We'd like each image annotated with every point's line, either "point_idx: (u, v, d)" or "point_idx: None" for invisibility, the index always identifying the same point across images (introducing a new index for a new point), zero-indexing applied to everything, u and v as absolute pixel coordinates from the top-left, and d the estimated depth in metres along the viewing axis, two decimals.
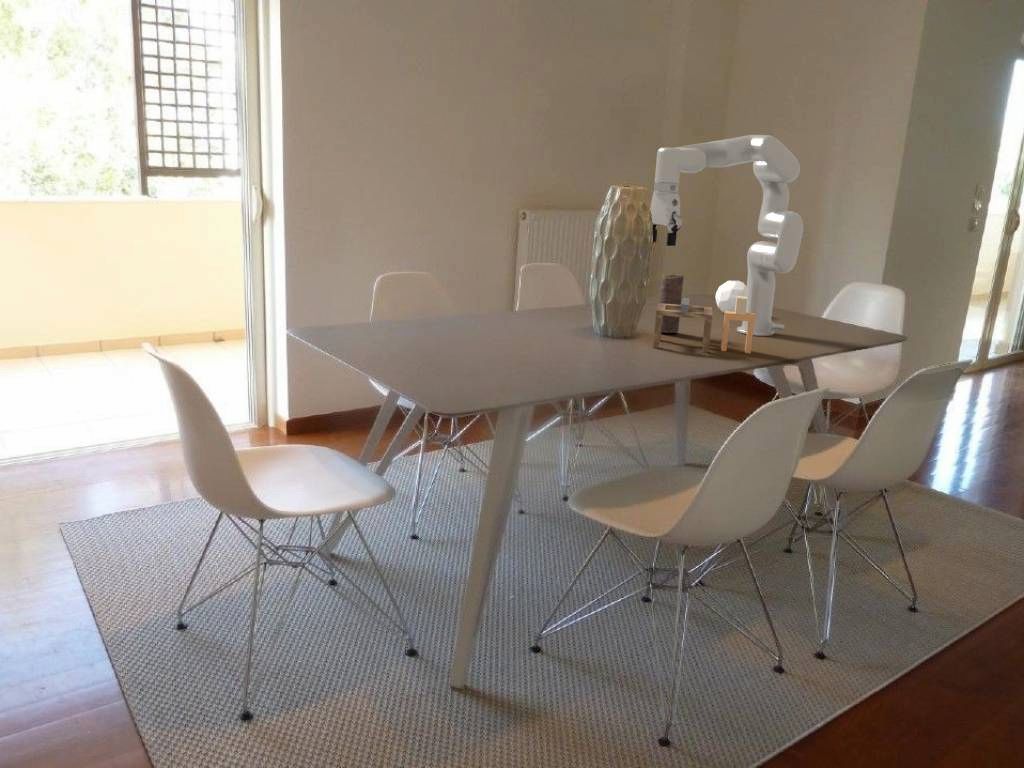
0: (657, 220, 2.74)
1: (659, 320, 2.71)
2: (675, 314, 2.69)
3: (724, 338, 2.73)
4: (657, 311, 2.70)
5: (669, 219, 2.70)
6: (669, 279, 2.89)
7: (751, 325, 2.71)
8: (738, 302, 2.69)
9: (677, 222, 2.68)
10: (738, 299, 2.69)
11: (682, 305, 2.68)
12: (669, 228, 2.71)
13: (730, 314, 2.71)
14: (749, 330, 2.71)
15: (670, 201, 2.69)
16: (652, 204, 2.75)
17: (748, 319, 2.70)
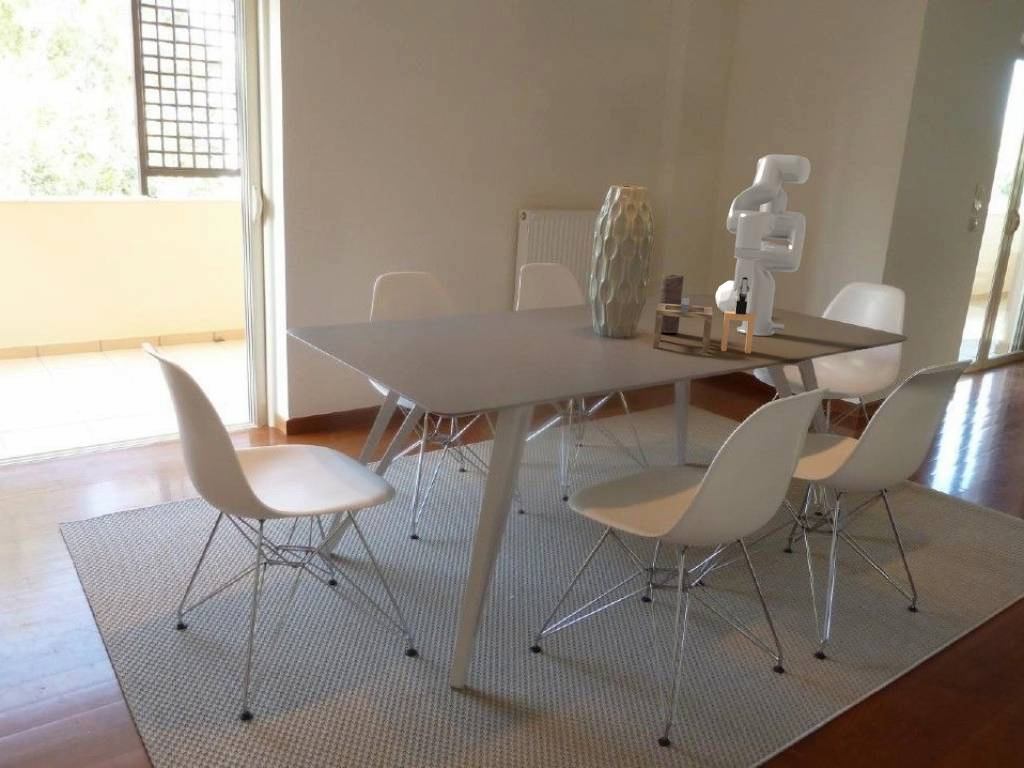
0: None
1: (659, 320, 2.71)
2: (675, 314, 2.69)
3: (724, 338, 2.73)
4: (657, 311, 2.70)
5: None
6: (669, 279, 2.89)
7: (751, 325, 2.71)
8: None
9: None
10: None
11: (682, 305, 2.68)
12: None
13: (730, 314, 2.71)
14: (749, 330, 2.71)
15: None
16: (753, 272, 2.65)
17: (748, 319, 2.70)
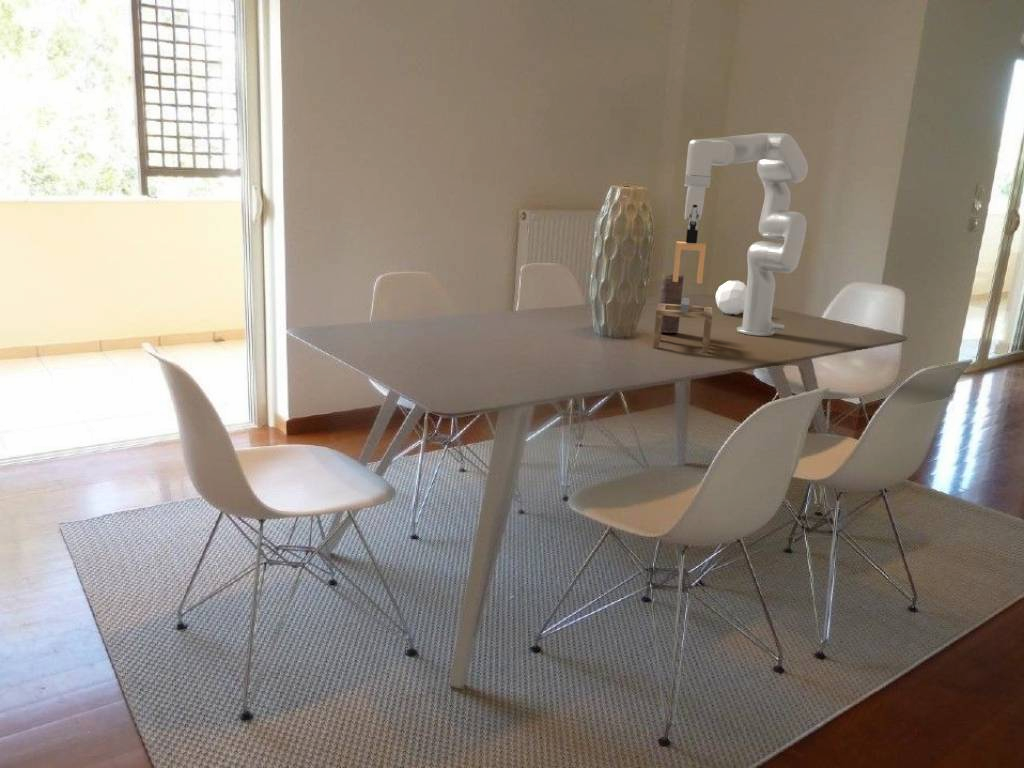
0: None
1: (659, 320, 2.71)
2: (675, 314, 2.69)
3: (675, 268, 2.71)
4: (657, 311, 2.70)
5: None
6: (669, 279, 2.89)
7: (702, 254, 2.68)
8: None
9: None
10: None
11: (682, 305, 2.68)
12: None
13: (681, 243, 2.69)
14: (700, 260, 2.69)
15: None
16: (703, 200, 2.63)
17: (699, 248, 2.68)
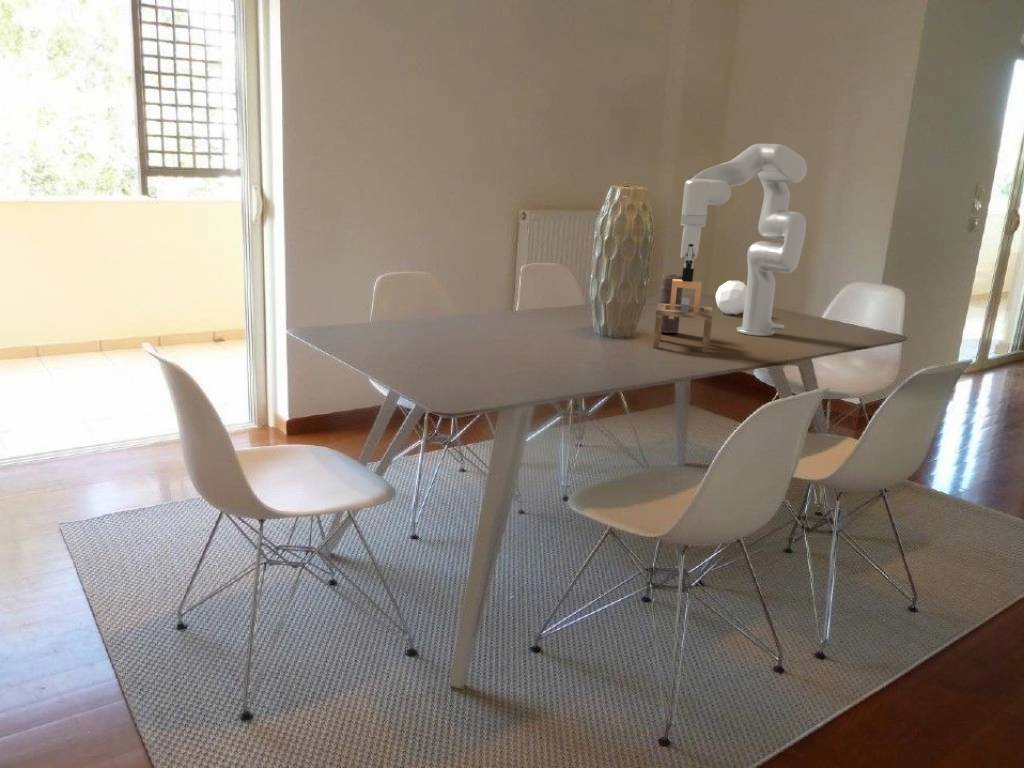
0: None
1: (659, 320, 2.71)
2: (675, 314, 2.69)
3: (671, 306, 2.74)
4: (657, 311, 2.70)
5: None
6: (669, 279, 2.89)
7: (698, 292, 2.71)
8: None
9: None
10: None
11: (682, 305, 2.68)
12: None
13: (677, 281, 2.72)
14: (696, 297, 2.72)
15: None
16: (699, 239, 2.66)
17: (695, 286, 2.71)
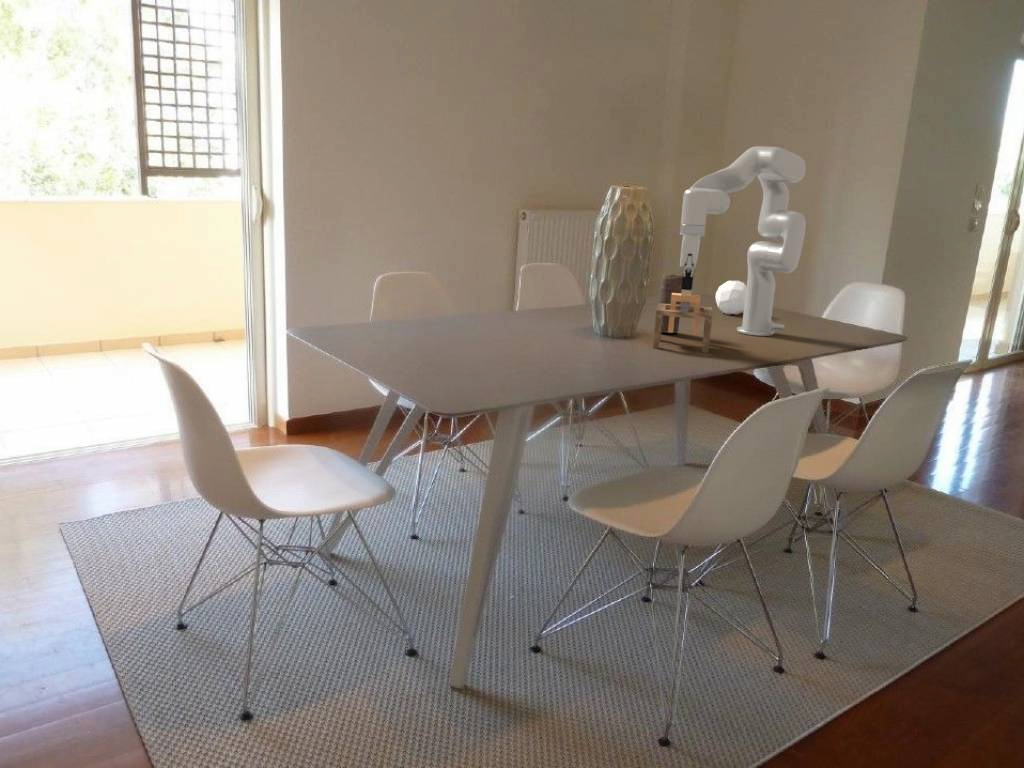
0: None
1: (659, 320, 2.71)
2: (675, 314, 2.69)
3: (670, 319, 2.75)
4: (657, 311, 2.70)
5: None
6: (669, 279, 2.89)
7: (697, 306, 2.73)
8: None
9: None
10: None
11: (682, 305, 2.68)
12: None
13: (676, 295, 2.73)
14: (695, 311, 2.73)
15: None
16: (698, 248, 2.67)
17: (694, 300, 2.72)
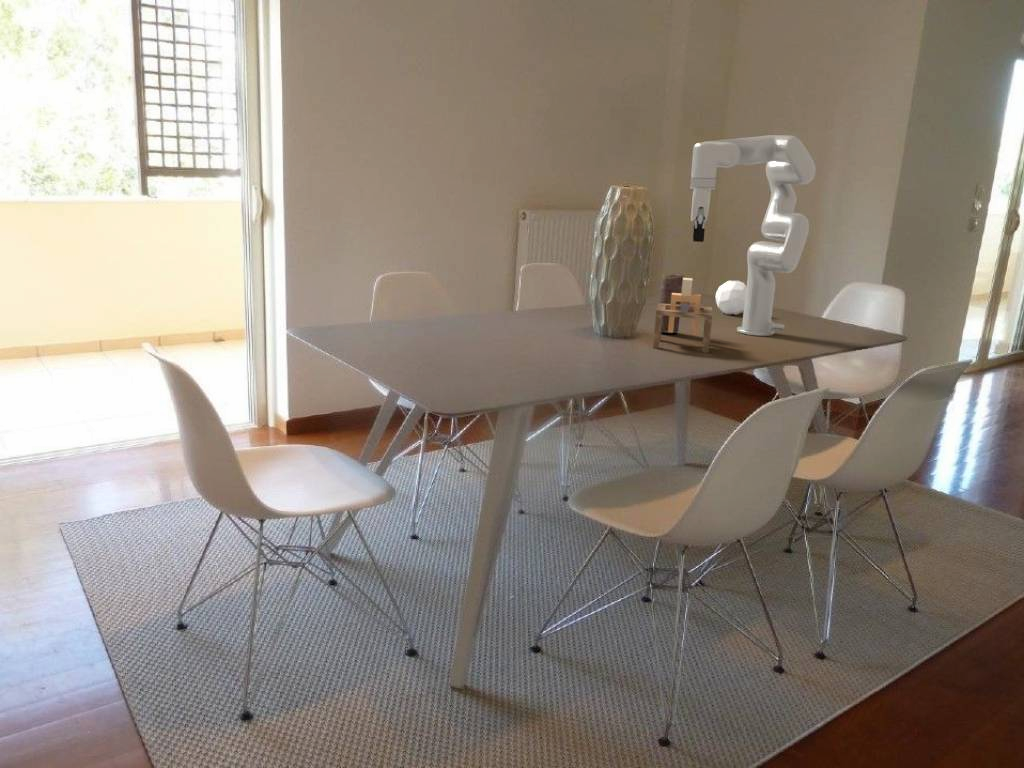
0: None
1: (659, 320, 2.71)
2: (675, 314, 2.69)
3: (670, 319, 2.75)
4: (657, 311, 2.70)
5: None
6: (669, 279, 2.89)
7: (697, 306, 2.73)
8: (684, 283, 2.71)
9: None
10: (684, 280, 2.71)
11: (682, 305, 2.68)
12: None
13: (676, 295, 2.73)
14: (695, 311, 2.73)
15: None
16: (709, 201, 2.68)
17: (694, 300, 2.72)
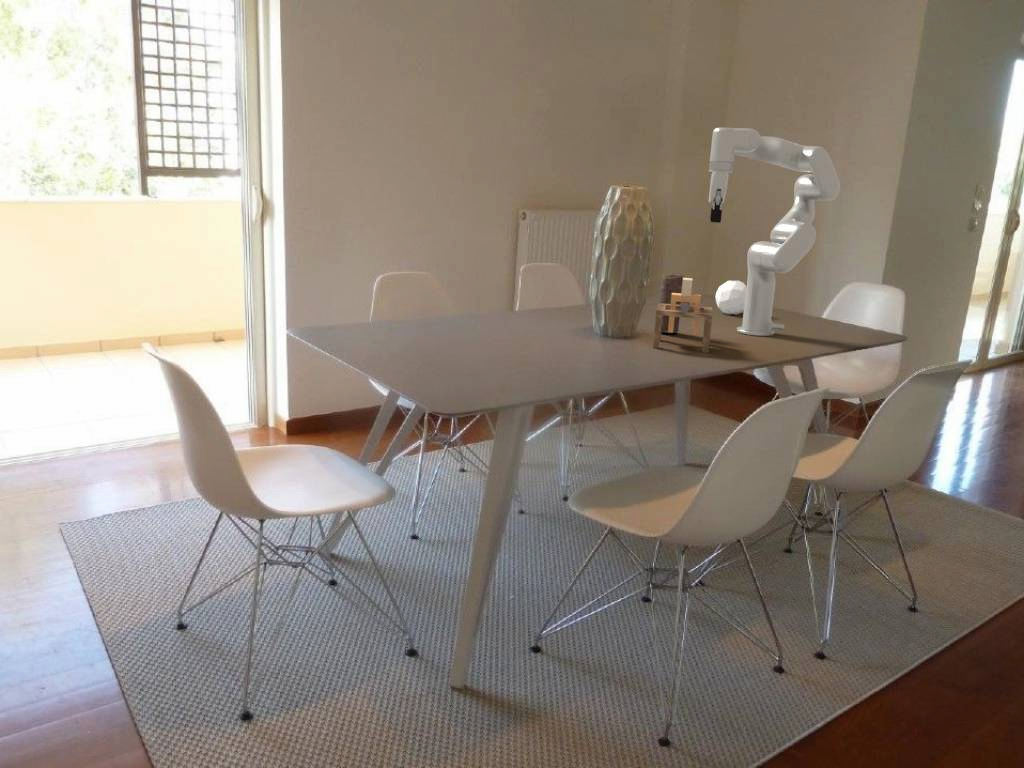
0: None
1: (659, 320, 2.71)
2: (675, 314, 2.69)
3: (670, 319, 2.75)
4: (657, 311, 2.70)
5: None
6: (669, 279, 2.89)
7: (697, 306, 2.73)
8: (684, 283, 2.71)
9: None
10: (684, 280, 2.71)
11: (682, 305, 2.68)
12: None
13: (676, 295, 2.73)
14: (695, 311, 2.73)
15: None
16: (726, 184, 2.80)
17: (694, 300, 2.72)
